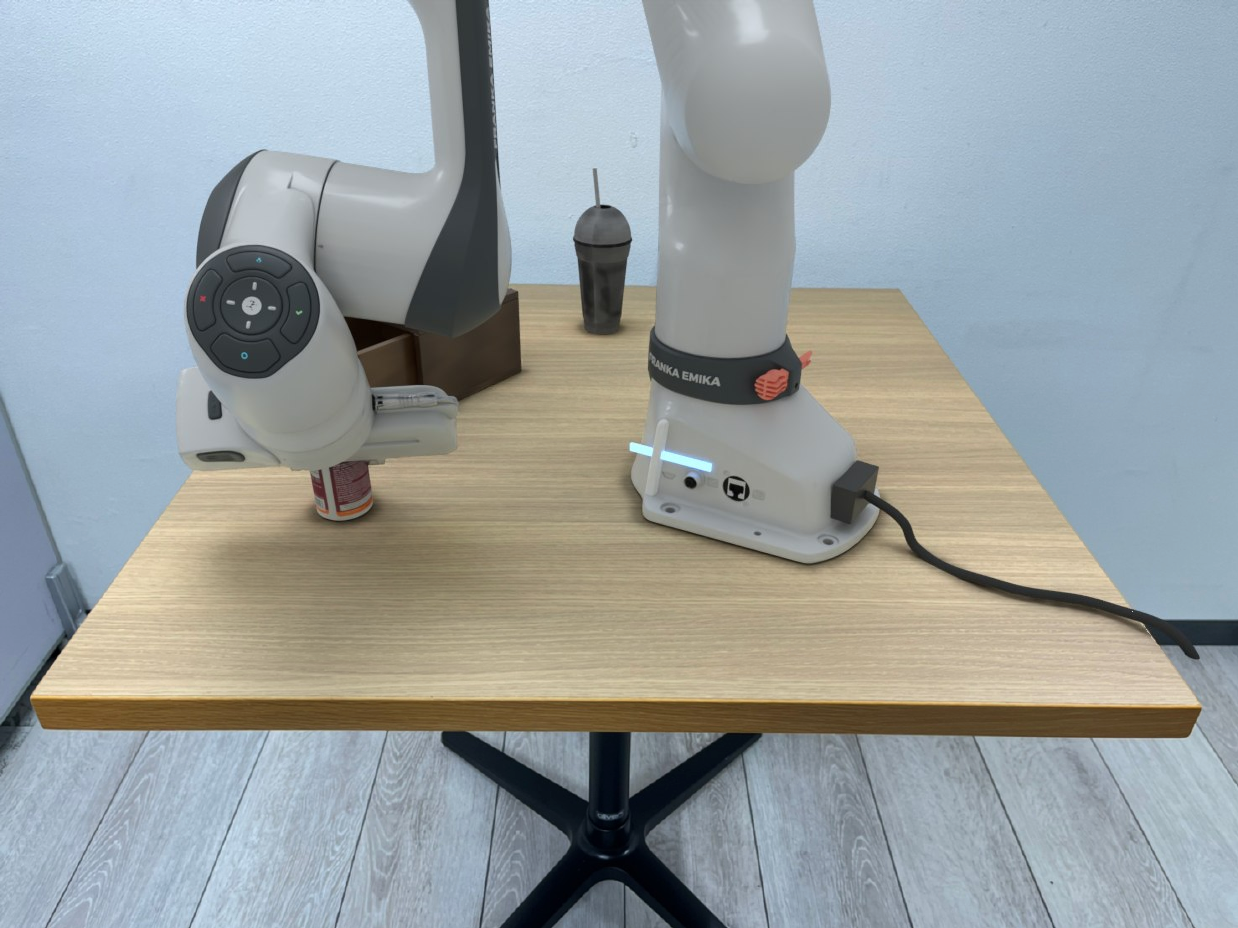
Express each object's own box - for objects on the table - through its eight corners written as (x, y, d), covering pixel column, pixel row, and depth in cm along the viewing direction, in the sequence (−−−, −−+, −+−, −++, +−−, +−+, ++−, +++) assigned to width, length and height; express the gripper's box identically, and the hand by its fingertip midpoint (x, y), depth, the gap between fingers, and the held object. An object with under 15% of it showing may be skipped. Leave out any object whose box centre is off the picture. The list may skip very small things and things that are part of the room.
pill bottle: (381, 494, 80) (370, 409, 76) (362, 523, 76) (349, 435, 72) (328, 491, 81) (315, 405, 77) (307, 520, 77) (291, 431, 72)
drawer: (308, 457, 84) (295, 380, 80) (236, 422, 90) (221, 348, 86) (453, 391, 97) (448, 322, 93) (382, 364, 103) (374, 298, 99)
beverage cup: (641, 331, 116) (646, 169, 106) (593, 342, 112) (594, 176, 103) (609, 314, 121) (611, 159, 111) (562, 324, 118) (560, 165, 108)
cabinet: (426, 415, 94) (418, 328, 89) (347, 383, 101) (336, 300, 96) (521, 371, 104) (518, 290, 100) (444, 345, 111) (438, 268, 106)
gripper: (455, 354, 66) (460, 415, 79) (154, 370, 63) (212, 431, 76) (461, 436, 65) (465, 485, 78) (153, 458, 61) (212, 505, 74)
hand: (338, 459), depth 77 cm, fingers closed on pill bottle, 5 cm apart
